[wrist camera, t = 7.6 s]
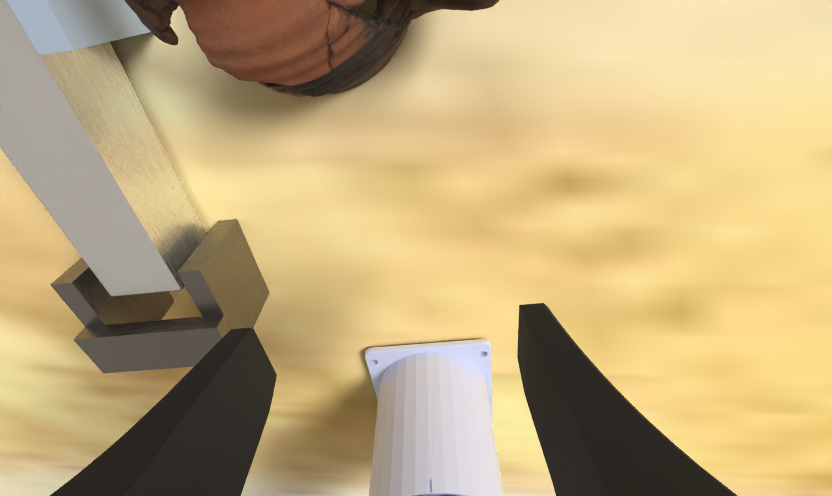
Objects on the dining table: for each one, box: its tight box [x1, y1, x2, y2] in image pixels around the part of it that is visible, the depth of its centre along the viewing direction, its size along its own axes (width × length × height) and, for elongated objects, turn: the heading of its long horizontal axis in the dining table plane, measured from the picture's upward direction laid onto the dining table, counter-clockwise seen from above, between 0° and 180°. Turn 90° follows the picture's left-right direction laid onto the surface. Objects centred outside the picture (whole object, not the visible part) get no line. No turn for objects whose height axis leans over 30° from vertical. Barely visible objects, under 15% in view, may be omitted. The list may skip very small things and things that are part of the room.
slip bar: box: [0, 0, 207, 296], centre depth 16 cm, size 12×3×3 cm, turn 7°
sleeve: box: [50, 219, 269, 373], centre depth 20 cm, size 5×7×5 cm
